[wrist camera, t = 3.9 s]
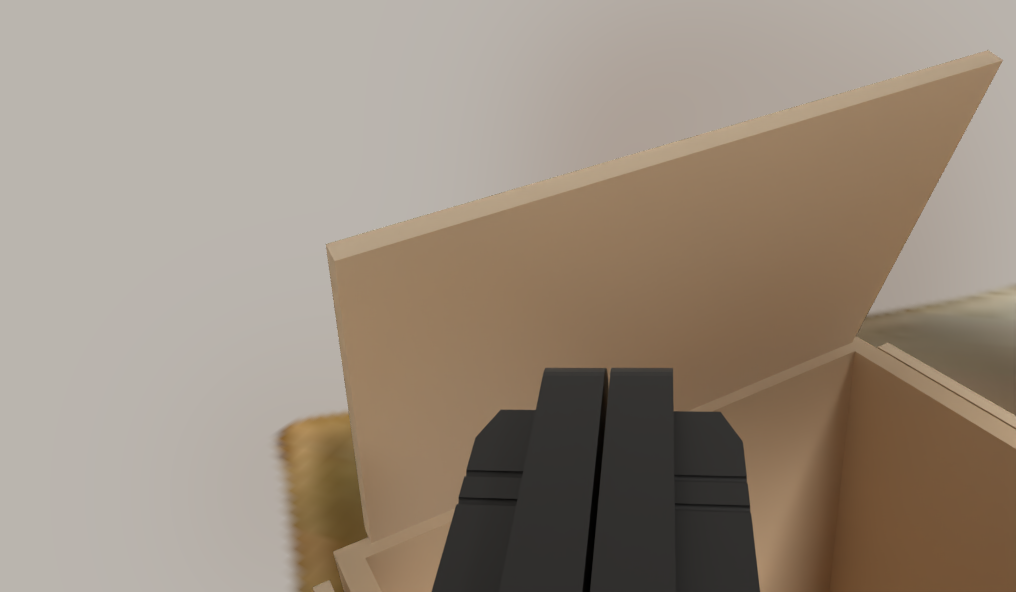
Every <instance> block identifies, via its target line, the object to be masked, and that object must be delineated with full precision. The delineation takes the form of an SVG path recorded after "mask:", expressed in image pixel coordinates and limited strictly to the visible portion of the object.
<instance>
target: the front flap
mask: <svg viewBox="0 0 1016 592" xmlns="http://www.w3.org/2000/svg"><path fill="white" fill-rule="evenodd" d="M1002 61H1003V60H1002V59H1000V58H999V57H997V56H996V55H994V54H993V53H992V52H990V51H988V50H987V51H984V52H981V53H977V54H974V55H970V56H967V57H963V58H960V59H956V60H953V61H950V62H946V63H943V64H939V65H936V66H933V67H929V68H926V69H922V70H919V71H915V72H912V73H909V74H905V75H902V76H898V77H895V78H892V79H888V80H885V81H882V82H878V83H874V84H871V85H868V86H864V87H861V88H858V89H854V90H851V91H847V92H844V93H840V94H837V95H833V96H830V97H827V98H823V99H820V100H816V101H813V102H810V103H806V104H803V105H799V106H796V107H792V108H789V109H786V110H782V111H779V112H775V113H772V114H769V115H765V116H762V117H759V118H755V119H752V120H748V121H745V122H741V123H738V124H735V125H731V126H728V127H724V128H721V129H718V130H714V131H711V132H707V133H704V134H700V135H697V136H694V137H690V138H687V139H683V140H680V141H676V142H673V143H670V144H666V145H663V146H660V147H656V148H652V149H649V150H646V151H643V152H639V153H635V154H632V155H629V156H625V157H622V158H618V159H615V160H612V161H608V162H605V163H602V164H598V165H595V166H591V167H588V168H585V169H581V170H578V171H574V172H571V173H567V174H564V175H561V176H557V177H553V178H550V179H547V180H543V181H540V182H536V183H533V184H530V185H526V186H523V187H519V188H516V189H512V190H509V191H506V192H503V193H499V194H495V195H492V196H489V197H485V198H482V199H479V200H475V201H472V202H468V203H465V204H461V205H458V206H454V207H451V208H448V209H444V210H441V211H437V212H434V213H431V214H427V215H424V216H420V217H417V218H413V219H410V220H407V221H404V222H400V223H397V224H393V225H390V226H386V227H383V228H379V229H376V230H372V231H369V232H366V233H362V234H359V235H356V236H352V237H349V238H346V239H342V240H339V241H335V242H332V243H328V244H326V249H327V257H328V264H329V271H330V278H331V286H332V293H333V300H334V308H335V314H336V322H337V329H338V337H339V344H340V351H341V358H342V366H343V372H344V380H345V388H346V395H347V402H348V409H349V417H350V424H351V431H352V439H353V446H354V453H355V460H356V468H357V475H358V482H359V489H360V497H361V504H362V511H363V519H364V526H365V530H366V533H367V535H368V537H369V540H370V542H371V543H373V542H376V541H378V540H381V539H383V538H385V537H388V536H390V535H393V534H395V533H397V532H400V531H402V530H405V529H407V528H409V527H412V526H414V525H417V524H419V523H421V522H424V521H426V520H429V519H431V518H433V517H436V516H438V515H440V514H443V513H445V512H448V511H450V510H452V509H455V507H456V504H458V502H459V498H458V497H459V493H460V490H461V486H462V483H463V479H464V476H465V477H466V469H467V465H468V462H469V458H470V455H471V451H472V448H473V444H474V441H475V437H476V436H477V435H478V434H479V433H480V432H481V431H482V430H483V429H484V427H485V426H486V425H487V424H488V423H489V422H490V421H491V420H492V419H493V418H494V416H495V415H496V414H497V413H498V412H499V411H500V410H536V406H537V401H538V396H539V391H540V386H541V382H542V377H543V372H544V370H545V368H607V373H608V383H609V381H610V371H611V368H673V406H674V411H689V410H692V409H694V408H697V407H699V406H701V405H704V404H706V403H709V402H711V401H713V400H716V399H718V398H721V397H723V396H725V395H728V394H730V393H732V392H735V391H737V390H740V389H742V388H744V387H747V386H749V385H752V384H754V383H756V382H759V381H761V380H764V379H766V378H768V377H771V376H773V375H776V374H778V373H780V372H783V371H785V370H788V369H790V368H792V367H795V366H797V365H799V364H802V363H804V362H807V361H809V360H811V359H814V358H816V357H819V356H821V355H823V354H826V353H828V352H831V351H833V350H835V349H838V348H840V347H843V346H845V345H847V344H850V343H852V342H853V340H854V338H855V336H856V335H857V333H858V331H859V329H860V327H861V325H862V323H863V321H864V320H865V318H866V316H867V314H868V312H869V310H870V308H871V306H872V305H873V303H874V301H875V299H876V297H877V295H878V293H879V291H880V290H881V288H882V286H883V284H884V282H885V280H886V278H887V276H888V274H889V273H890V271H891V269H892V267H893V265H894V263H895V261H896V260H897V258H898V256H899V254H900V252H901V250H902V248H903V246H904V244H905V243H906V241H907V239H908V237H909V235H910V233H911V231H912V230H913V228H914V226H915V224H916V222H917V220H918V218H919V217H920V215H921V213H922V211H923V209H924V207H925V205H926V203H927V201H928V200H929V198H930V196H931V194H932V192H933V190H934V188H935V187H936V185H937V183H938V181H939V179H940V177H941V175H942V173H943V172H944V169H945V168H946V166H947V163H948V162H949V160H950V158H951V157H952V155H953V153H954V151H955V149H956V147H957V145H958V143H959V141H960V140H961V138H962V136H963V134H964V132H965V130H966V128H967V126H968V125H969V123H970V121H971V119H972V117H973V115H974V114H975V112H976V110H977V108H978V106H979V104H980V102H981V100H982V98H983V97H984V95H985V93H986V91H987V89H988V87H989V85H990V84H991V82H992V80H993V78H994V76H995V74H996V72H997V70H998V68H999V67H1000V65H1001V63H1002Z"/></svg>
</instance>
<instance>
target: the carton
mask: <svg viewBox="0 0 1016 592" xmlns="http://www.w3.org/2000/svg"><path fill="white" fill-rule="evenodd" d="M689 411H694V412H721V413H722V414H723V416H724V417H725V418H726V420H727V421H728V422H729V424H730V425H731V426H732V428H733V429H734V430H735V432H736V433H737V434H738V436H739V437H740V438H741V440H742V441H743V447H744V456H745V464H746V473H747V483H748V490H749V499H750V513H751V516H752V525H753V534H754V542H755V551H756V560H757V569H758V577H759V586H760V592H1016V416H1015V415H1014V414H1012V413H1010V412H1008V411H1007V410H1005V409H1003V408H1001V407H1000V406H998V405H996V404H994V403H993V402H991V401H989V400H987V399H986V398H984V397H982V396H981V395H979V394H977V393H975V392H974V391H972V390H970V389H968V388H967V387H965V386H963V385H961V384H960V383H958V382H956V381H954V380H953V379H951V378H949V377H947V376H946V375H944V374H942V373H941V372H939V371H937V370H935V369H934V368H932V367H930V366H928V365H927V364H925V363H923V362H921V361H920V360H918V359H916V358H914V357H913V356H911V355H909V354H907V353H906V352H904V351H902V350H900V349H899V348H897V347H895V346H894V345H892V344H890V343H886V344H883V345H881V346H879V347H878V348H876V347H874V346H873V345H871V344H869V343H868V342H866V341H864V340H862V339H861V338H859V337H857V336H855V338H854V340H853V342H852V343H850V344H847V345H845V346H843V347H840V348H838V349H835V350H833V351H831V352H828V353H826V354H823V355H821V356H819V357H816V358H814V359H811V360H809V361H807V362H804V363H802V364H799V365H797V366H795V367H792V368H790V369H788V370H785V371H783V372H780V373H778V374H776V375H773V376H771V377H768V378H766V379H764V380H761V381H759V382H756V383H754V384H752V385H749V386H747V387H744V388H742V389H740V390H737V391H735V392H732V393H730V394H728V395H725V396H723V397H721V398H718V399H716V400H713V401H711V402H709V403H706V404H704V405H701V406H699V407H697V408H694V409H692V410H689ZM454 511H455V509H452V510H450V511H448V512H445V513H443V514H440V515H438V516H436V517H433V518H431V519H429V520H426V521H424V522H421V523H419V524H417V525H414V526H412V527H409V528H407V529H405V530H402V531H400V532H397V533H395V534H393V535H390V536H388V537H385V538H383V539H381V540H378V541H376V542H373V543H371V542H370V540H369V537H367V538H365V539H362V540H360V541H358V542H355V543H353V544H350V545H348V546H345V547H343V548H341V549H338V550H336V551H333V554H334V557H335V561H336V565H337V568H338V572H339V575H340V579H341V582H342V586H343V590H344V592H432V588H433V585H434V581H435V578H436V574H437V571H438V567H439V564H440V560H441V557H442V553H443V550H444V546H445V543H446V539H447V535H448V532H449V528H450V525H451V521H452V518H453V514H454ZM313 590H314V592H334V589H333V587H332V585H331V582H330V580H328V581H326V582H324V583H321V584H319V585H317V586H314V587H313Z"/></svg>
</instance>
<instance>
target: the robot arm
mask: <svg viewBox="0 0 1016 592" xmlns="http://www.w3.org/2000/svg"><path fill="white" fill-rule="evenodd" d="M458 498H459V502H458V504H456V507H455V511H454V514H453V518H452V521H451V525H450V528H449V532H448V535H447V539H446V543H445V546H444V550H443V553H442V557H441V560H440V564H439V567H438V571H437V574H436V578H435V581H434V585H433V588H432V592H760V586H759V577H758V569H757V560H756V551H755V542H754V534H753V525H752V516H751V513H750V499H749V490H748V483H747V473H746V464H745V456H744V447H743V441H742V440H741V438H740V437H739V436H738V434H737V433H736V432H735V430H734V429H733V428H732V426H731V425H730V424H729V422H728V421H727V420H726V418H725V417H724V416H723V414H722V413H721V412H694V411H674V406H673V368H611V371H610V381H609V383H608V373H607V368H545V370H544V372H543V377H542V382H541V386H540V391H539V396H538V401H537V406H536V410H500V411H499V412H498V413H497V414H496V415H495V416H494V418H493V419H492V420H491V421H490V422H489V423H488V424H487V425H486V426H485V427H484V429H483V430H482V431H481V432H480V433H479V434H478V435H477V436H476V437H475V441H474V444H473V448H472V451H471V455H470V458H469V462H468V465H467V469H466V477H465V476H464V479H463V483H462V486H461V490H460V493H459V497H458Z"/></svg>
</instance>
